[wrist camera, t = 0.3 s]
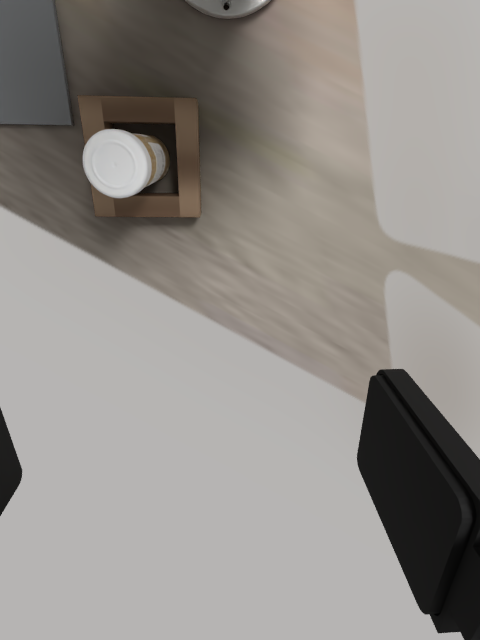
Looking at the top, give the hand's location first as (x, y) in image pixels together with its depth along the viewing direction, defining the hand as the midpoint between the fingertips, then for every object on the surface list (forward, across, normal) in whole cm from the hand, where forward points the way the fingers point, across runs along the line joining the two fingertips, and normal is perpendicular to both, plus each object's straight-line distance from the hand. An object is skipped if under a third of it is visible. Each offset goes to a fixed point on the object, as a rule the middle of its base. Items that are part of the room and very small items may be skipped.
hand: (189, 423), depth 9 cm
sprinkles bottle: (+34, +6, -6) cm, 35 cm away
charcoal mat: (+34, +19, -15) cm, 42 cm away
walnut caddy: (+34, +6, -6) cm, 35 cm away
